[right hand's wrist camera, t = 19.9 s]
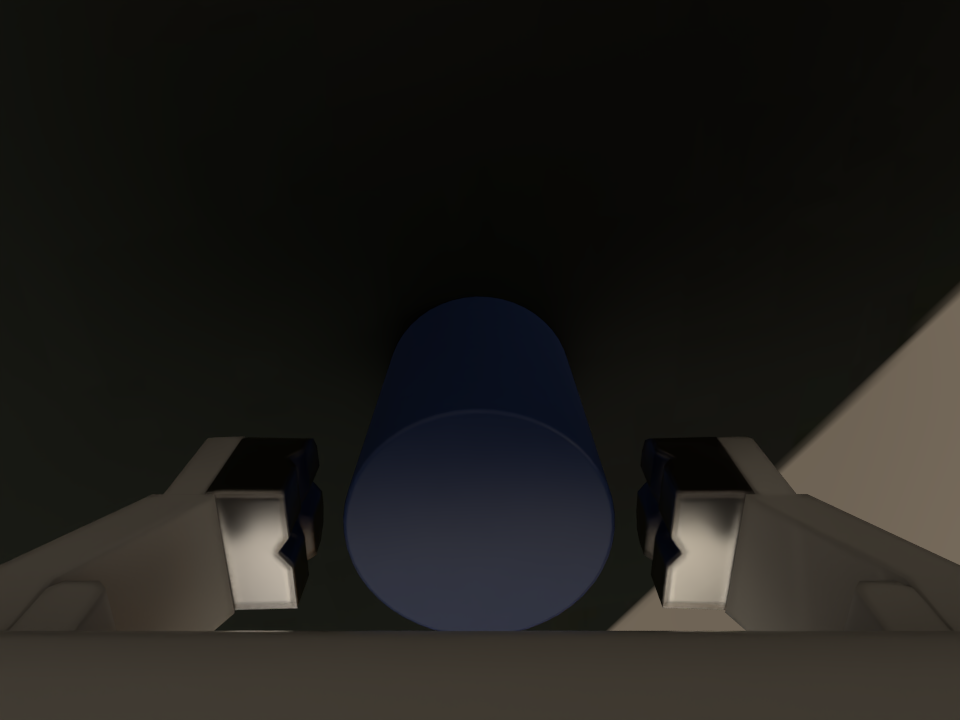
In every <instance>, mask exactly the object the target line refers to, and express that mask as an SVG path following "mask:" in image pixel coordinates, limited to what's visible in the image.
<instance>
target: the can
mask: <svg viewBox="0 0 960 720" xmlns="http://www.w3.org/2000/svg"><path fill="white" fill-rule="evenodd" d="M343 523H344V536H345V541H346V546H347V549H348V552H349V555H350V557H351V560H352V563H353V565H354V567H355V568H356V570H357V572H358V574H359V576H360V577H361V579H362V580H363V581H364V583H365V584H366V585H367V587H368V588H369V589H370V590H371V591H372V592H373V593H374V594H375V595H376V597H377V598H378V599H379V600H381V601H382V602H383V603H384V604H386V605H387V606H388V607H389V608H391V609H392V610H393V611H395V612H397V613H398V614H400V615H401V616H403V617H405V618H407V619H409V620H411V621H413V622H415V623H417V624H419V625H422V626H425V627H428V628H430V629H433V630H437V631H521V630H524V629H528V628H531V627H534V626H536V625H539V624H541V623H543V622H546V621H548V620H550V619H551V618H553V617H555V616H557V615H559V614H560V613H562V612H563V611H565V610H566V609H567V608H569V607H570V606H572V605H573V604H574V603H575V602H576V601H577V600H579V599H580V598H581V597H582V596H583V595H584V594H585V593H586V592H587V590H588V589H589V588H590V587H591V586H592V585H593V583H594V582H595V580H596V579H597V577H598V576H599V574H600V573H601V571H602V569H603V567H604V565H605V563H606V560H607V558H608V556H609V553H610V549H611V546H612V542H613V536H614V529H615V512H614V506H613V501H612V496H611V493H610V490H609V487H608V484H607V480H606V477H605V474H604V471H603V468H602V465H601V462H600V459H599V456H598V453H597V450H596V446H595V443H594V440H593V437H592V434H591V431H590V428H589V425H588V422H587V419H586V416H585V413H584V409H583V406H582V403H581V400H580V397H579V394H578V391H577V388H576V385H575V382H574V379H573V376H572V372H571V369H570V366H569V363H568V360H567V357H566V354H565V351H564V349H563V347H562V345H561V343H560V341H559V339H558V338H557V336H556V335H555V333H554V332H553V331H552V329H551V328H550V327H549V326H548V325H547V324H546V323H545V322H544V321H543V320H542V319H540V318H539V317H538V316H537V315H535V314H534V313H532V312H531V311H529V310H528V309H526V308H524V307H522V306H520V305H518V304H515V303H513V302H510V301H506V300H503V299H498V298H492V297H467V298H461V299H456V300H452V301H449V302H446V303H443V304H441V305H439V306H437V307H435V308H433V309H431V310H429V311H428V312H426V313H425V314H423V315H422V316H420V317H419V318H418V319H417V320H416V321H415V322H414V323H413V324H411V326H410V327H409V328H408V329H407V330H406V332H405V333H404V334H403V336H402V337H401V339H400V340H399V342H398V344H397V346H396V348H395V351H394V353H393V356H392V359H391V362H390V365H389V368H388V371H387V374H386V377H385V380H384V383H383V386H382V389H381V392H380V395H379V398H378V401H377V404H376V407H375V411H374V414H373V417H372V420H371V423H370V426H369V429H368V432H367V435H366V438H365V441H364V444H363V447H362V450H361V453H360V456H359V459H358V462H357V465H356V469H355V472H354V475H353V478H352V481H351V484H350V487H349V490H348V494H347V497H346V501H345V507H344V516H343Z"/></svg>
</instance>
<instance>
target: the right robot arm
mask: <svg viewBox="0 0 960 720" xmlns="http://www.w3.org/2000/svg"><path fill="white" fill-rule="evenodd" d="M318 468H319V459H318V451H317V445H316V443H315V441H314V439H313V438H260V437H247V438H245V437H244V436H241V437H213V438H208V439H207V440H206V441H205V442H204V443H203V445H202V446H201V447H200V448H199V450H198V451H197V452H196V454H195V455H194V456H193V457H192V459H191V460H190V461H189V462H188V464H187V465H186V466H185V467H184V469H183V470H182V471H181V473H180V474H179V475H178V476H177V478H176V479H175V480H174V481H173V483H172V484H171V485H170V486H169V488H168V489H167V490H166V492H165V493H164V494H152V495H150V496H148V497H146V498H143V499H141V500H139V501H137V502H135V503H133V504H131V505H128V506H126V507H124V508H122V509H120V510H118V511H115V512H113V513H111V514H109V515H107V516H105V517H103V518H100V519H98V520H96V521H94V522H92V523H90V524H88V525H85V526H83V527H81V528H79V529H77V530H75V531H72V532H70V533H68V534H66V535H64V536H62V537H60V538H57V539H55V540H53V541H51V542H49V543H47V544H44V545H42V546H40V547H38V548H36V549H34V550H32V551H29V552H27V553H25V554H23V555H21V556H19V557H16V558H14V559H12V560H10V561H8V562H6V563H4V564H1V565H0V720H960V565H958V564H956V563H954V562H952V561H949V560H947V559H945V558H943V557H941V556H939V555H937V554H934V553H932V552H930V551H928V550H926V549H924V548H922V547H919V546H917V545H915V544H913V543H911V542H909V541H906V540H904V539H902V538H900V537H898V536H896V535H894V534H891V533H889V532H887V531H885V530H883V529H881V528H879V527H876V526H874V525H872V524H870V523H868V522H866V521H864V520H861V519H859V518H857V517H855V516H853V515H851V514H849V513H846V512H844V511H842V510H840V509H838V508H836V507H834V506H831V505H829V504H827V503H825V502H823V501H821V500H818V499H816V498H814V497H812V496H810V495H808V494H796V493H795V492H794V490H793V489H792V488H791V487H790V485H789V484H788V483H787V482H786V480H785V479H784V478H783V477H782V475H781V474H780V473H779V472H778V470H777V469H776V468H775V466H774V465H773V464H772V463H771V461H770V460H769V459H768V458H767V456H766V455H765V454H764V453H763V451H762V450H761V449H760V448H759V446H758V445H757V444H756V443H755V441H754V440H753V439H752V438H749V437H747V436H743V437H721V438H717V437H695V438H653V439H647V440H645V442H644V446H643V450H642V457H641V468H642V470H643V473H644V475H645V478H646V480H647V482H646V483H645V484H644V485H643V486H642V487H641V489H640V490H639V491H638V496H637V510H636V513H637V531H638V536H639V541H640V545H641V548H642V551H643V554H644V555H646V556H647V557H648V558H650V559H651V560H652V570H651V576H652V579H653V582H654V585H655V587H656V590H657V593H658V596H659V598H660V601H661V604H662V607H663V608H680V609H717V610H726V611H725V612H726V613H727V614H728V615H729V616H730V617H731V618H732V619H733V620H735V621H736V622H737V623H738V624H739V625H740V626H742V627H743V628H744V629H745V630H746V631H214V630H215V629H216V628H218V627H219V626H220V625H221V624H222V623H223V622H224V621H226V620H227V619H228V618H229V617H230V616H231V615H233V614H234V610H242V609H278V608H297V607H298V604H299V601H300V598H301V596H302V593H303V590H304V587H305V585H306V582H307V579H308V576H309V571H308V561H307V560H309V559H310V558H311V557H313V556H314V555H316V553H317V550H318V547H319V544H320V541H321V535H322V528H323V496H322V491H321V490H320V489H319V488H318V486H317V485H316V484H315V483H314V482H313V480H314V477H315V475H316V473H317V470H318Z"/></svg>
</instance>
